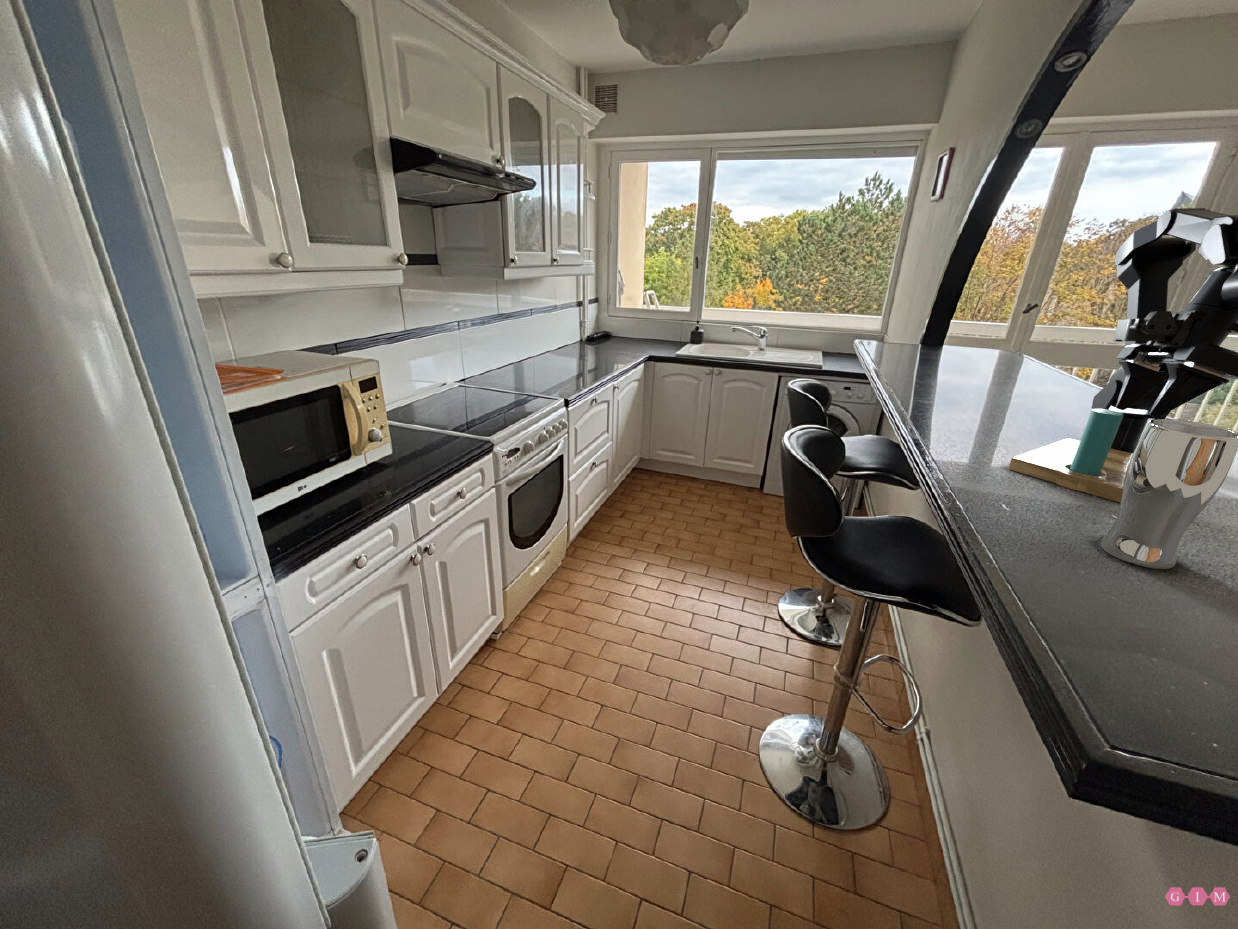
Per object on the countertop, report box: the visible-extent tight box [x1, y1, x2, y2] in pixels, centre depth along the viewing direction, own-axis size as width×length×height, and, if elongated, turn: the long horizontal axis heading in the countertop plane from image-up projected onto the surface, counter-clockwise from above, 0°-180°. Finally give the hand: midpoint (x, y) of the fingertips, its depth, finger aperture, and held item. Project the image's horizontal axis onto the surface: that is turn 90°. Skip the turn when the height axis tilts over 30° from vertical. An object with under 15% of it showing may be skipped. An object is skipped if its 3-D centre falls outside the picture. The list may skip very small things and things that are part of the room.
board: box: [1008, 438, 1133, 504], centre depth 79 cm, size 20×14×2 cm
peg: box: [1069, 408, 1124, 476], centre depth 74 cm, size 3×3×11 cm
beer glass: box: [1100, 418, 1238, 570], centre depth 54 cm, size 7×7×15 cm
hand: (1135, 412), depth 76 cm, fingers open, 9 cm apart
